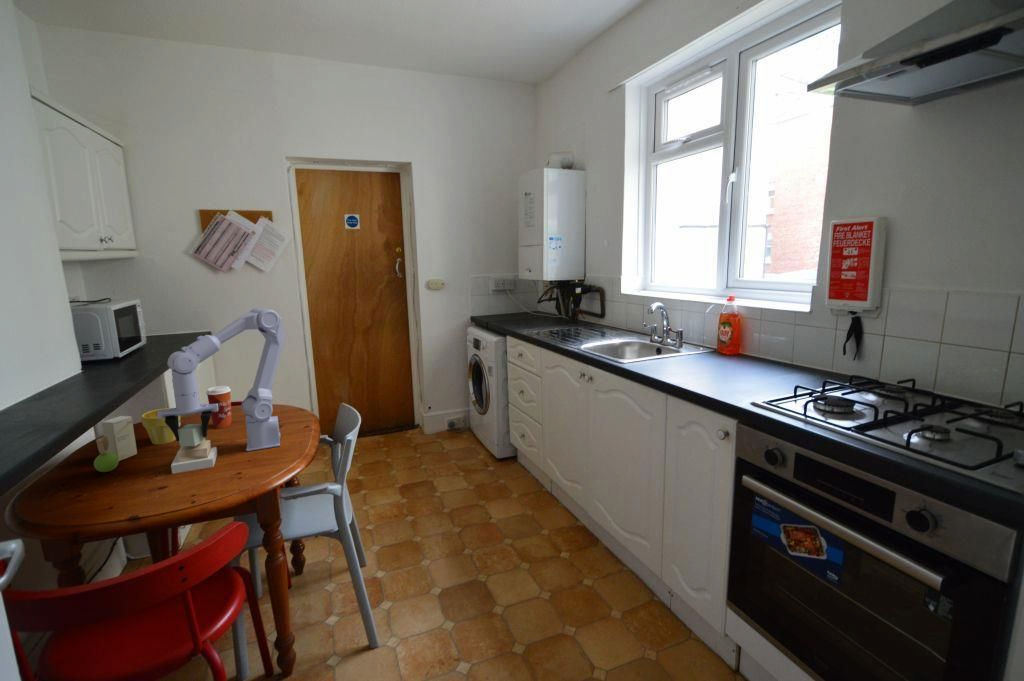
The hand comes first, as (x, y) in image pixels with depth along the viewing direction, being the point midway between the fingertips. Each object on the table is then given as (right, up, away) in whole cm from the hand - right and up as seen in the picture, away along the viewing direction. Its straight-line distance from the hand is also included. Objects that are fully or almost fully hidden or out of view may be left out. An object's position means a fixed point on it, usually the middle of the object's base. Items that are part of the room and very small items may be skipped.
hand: (192, 438), depth 142 cm
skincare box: (-26, -7, +7) cm, 28 cm away
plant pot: (-22, -5, +20) cm, 30 cm away
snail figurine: (-22, -9, -3) cm, 24 cm away
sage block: (0, -1, 0) cm, 2 cm away
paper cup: (-11, -2, +33) cm, 35 cm away
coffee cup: (-27, -3, +33) cm, 43 cm away
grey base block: (0, -8, +2) cm, 9 cm away
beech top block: (0, -5, +1) cm, 6 cm away
